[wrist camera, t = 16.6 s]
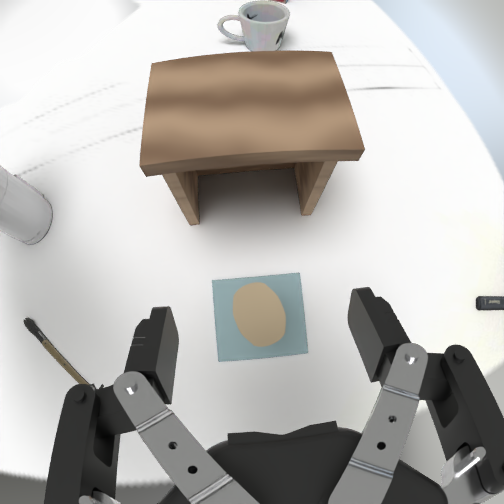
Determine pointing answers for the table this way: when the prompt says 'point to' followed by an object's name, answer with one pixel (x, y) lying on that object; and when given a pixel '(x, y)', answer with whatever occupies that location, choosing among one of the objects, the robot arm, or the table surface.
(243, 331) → the handle
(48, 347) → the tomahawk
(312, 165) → the walnut cabinet
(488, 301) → the usb stick
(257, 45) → the mug
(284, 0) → the juice carton
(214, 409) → the table surface
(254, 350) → the teal mat
